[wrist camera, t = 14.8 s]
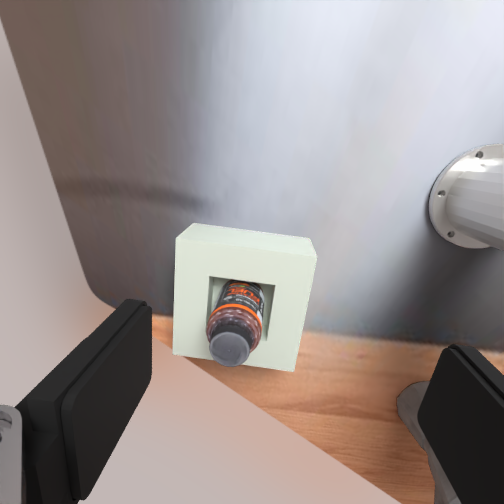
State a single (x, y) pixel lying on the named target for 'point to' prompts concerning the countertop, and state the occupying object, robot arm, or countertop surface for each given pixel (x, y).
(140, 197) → the countertop surface
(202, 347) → the sage block
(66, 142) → the countertop surface
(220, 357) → the supplement bottle
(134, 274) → the countertop surface
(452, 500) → the coffeepot
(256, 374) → the countertop surface
